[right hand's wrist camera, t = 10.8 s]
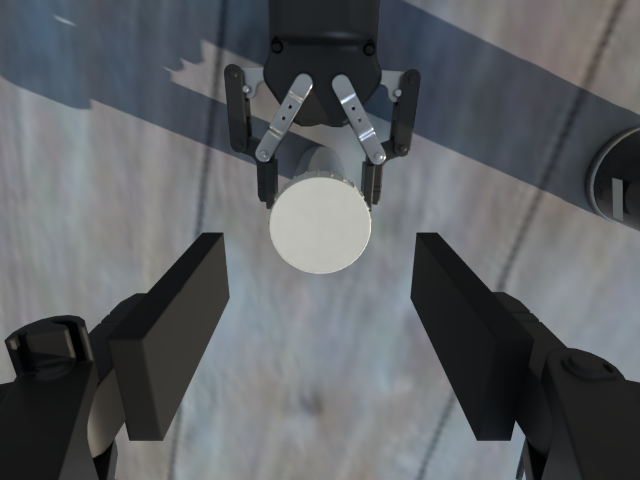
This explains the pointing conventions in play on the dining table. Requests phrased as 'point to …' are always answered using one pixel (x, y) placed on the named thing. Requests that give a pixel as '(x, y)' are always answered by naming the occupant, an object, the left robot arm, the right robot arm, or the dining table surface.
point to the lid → (319, 222)
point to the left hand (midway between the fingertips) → (319, 207)
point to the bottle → (320, 161)
